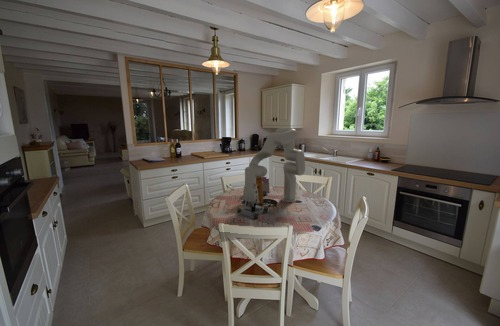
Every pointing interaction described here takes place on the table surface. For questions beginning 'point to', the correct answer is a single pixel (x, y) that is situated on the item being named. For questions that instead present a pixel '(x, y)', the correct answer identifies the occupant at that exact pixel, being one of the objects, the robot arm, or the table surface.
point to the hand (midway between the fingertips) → (250, 210)
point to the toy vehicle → (265, 185)
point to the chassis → (254, 214)
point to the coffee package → (259, 189)
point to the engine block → (249, 207)
